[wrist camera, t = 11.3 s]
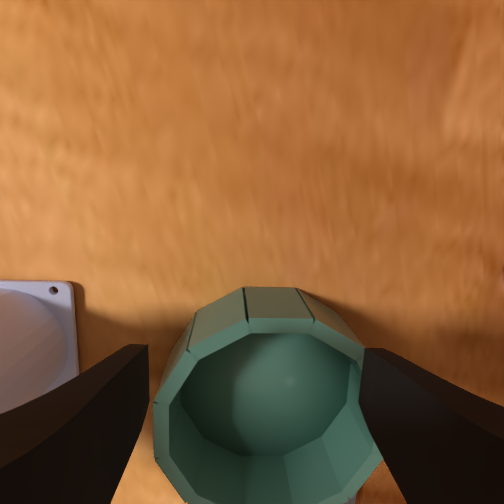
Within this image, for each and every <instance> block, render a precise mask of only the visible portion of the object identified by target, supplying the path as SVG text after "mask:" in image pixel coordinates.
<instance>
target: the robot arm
mask: <svg viewBox="0 0 504 504" xmlns="http://www.w3.org/2000/svg"><path fill="white" fill-rule="evenodd" d="M53 286H54V287H56V288H57V289H58V293H56V292H54V291H53V289H52V287H53ZM149 401H150V399H149V357H148V345H139V344H129V345H127V346H125V347H123V348H122V349H120V350H118V351H117V352H115V353H113V354H112V355H110V356H109V357H107V358H106V359H104V360H102V361H101V362H99V363H98V364H96V365H94V366H93V367H91V368H90V369H88V370H87V371H85V372H83V373H81V374H80V375H79V362H78V347H77V333H76V318H75V304H74V289H73V286H72V285H71V283H69V282H67V281H37V280H0V504H110V503H111V501H112V498H113V496H114V494H115V491H116V489H117V487H118V484H119V482H120V480H121V477H122V475H123V473H124V470H125V468H126V465H127V463H128V461H129V458H130V456H131V454H132V451H133V449H134V447H135V444H136V442H137V439H138V437H139V434H140V432H141V429H142V426H143V423H144V419H145V416H146V412H147V408H148V404H149ZM358 403H359V406H360V409H361V412H362V414H363V417H364V420H365V422H366V425H367V428H368V430H369V432H370V434H371V436H372V438H373V440H374V442H375V444H376V446H377V448H378V449H379V451H380V453H381V455H382V457H383V459H384V461H385V463H386V464H387V466H388V468H389V470H390V472H391V474H392V476H393V477H394V479H395V481H396V483H397V485H398V487H399V489H400V491H401V492H402V494H403V496H404V498H405V500H406V502H407V504H504V407H502V406H500V405H497V404H495V403H493V402H490V401H488V400H485V399H483V398H481V397H479V396H476V395H474V394H472V393H470V392H468V391H466V390H464V389H462V388H460V387H458V386H456V385H453V384H451V383H450V382H448V381H446V380H444V379H442V378H440V377H438V376H436V375H434V374H432V373H430V372H428V371H427V370H425V369H423V368H421V367H419V366H417V365H415V364H414V363H412V362H410V361H408V360H406V359H404V358H402V357H400V356H398V355H396V354H394V353H392V352H390V351H388V350H385V349H383V348H365V349H364V357H363V365H362V374H361V382H360V390H359V399H358Z"/></svg>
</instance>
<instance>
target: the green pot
mask: <svg viewBox="0 0 504 504" xmlns="http://www.w3.org/2000/svg"><path fill="white" fill-rule="evenodd" d="M365 348H366V347H365V346H364V345H363V344H362V342H361V341H360V340H359V339H358V337H357V336H356V335H355V334H354V333H353V331H352V330H351V329H350V328H349V326H348V325H347V324H346V323H345V322H344V320H343V319H342V318H341V317H340V315H339V314H338V313H337V312H335V311H334V310H332V309H330V308H329V307H327V306H325V305H324V304H322V303H320V302H319V301H317V300H315V299H314V298H312V297H310V296H309V295H307V294H305V293H304V292H302V291H300V290H299V289H295V288H284V287H245V290H243V288H240V289H238V290H236V291H234V292H232V293H230V294H228V295H226V296H224V297H222V298H221V299H219V300H217V301H215V302H213V303H211V304H209V305H207V306H205V307H203V308H201V309H199V310H198V311H197V313H195V314H194V316H193V317H192V319H191V321H190V322H189V324H188V325H187V327H186V328H185V330H184V332H183V333H182V335H181V336H180V338H179V340H178V341H177V343H176V344H175V346H174V347H173V349H172V351H171V352H170V355H169V358H168V361H167V364H166V367H165V370H164V372H163V375H162V378H161V381H160V384H159V387H158V389H157V392H156V395H155V398H154V401H153V443H154V458H155V461H156V463H157V464H158V466H159V467H160V468H161V470H162V471H163V473H164V474H165V475H166V477H167V478H168V480H169V481H170V482H171V484H172V485H173V487H174V488H175V489H176V491H177V492H178V494H179V495H180V496H181V498H182V499H183V501H184V502H185V503H186V502H188V504H344V503H346V502H348V501H349V499H348V498H351V499H352V498H353V496H354V495H355V494H356V493H357V491H358V490H359V489H360V488H361V486H362V485H363V484H364V482H365V481H366V480H367V479H368V477H369V476H370V475H371V474H372V472H373V471H374V470H375V468H376V467H377V466H378V465H379V463H380V462H381V461H382V460H383V457H382V455H381V453H380V451H379V449H378V448H377V446H376V444H375V442H374V440H373V438H372V436H371V434H370V432H369V430H368V428H367V425H366V422H365V420H364V417H363V414H362V412H361V409H360V406H359V403H358V399H359V390H360V382H361V374H362V365H363V357H364V349H365Z"/></svg>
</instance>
